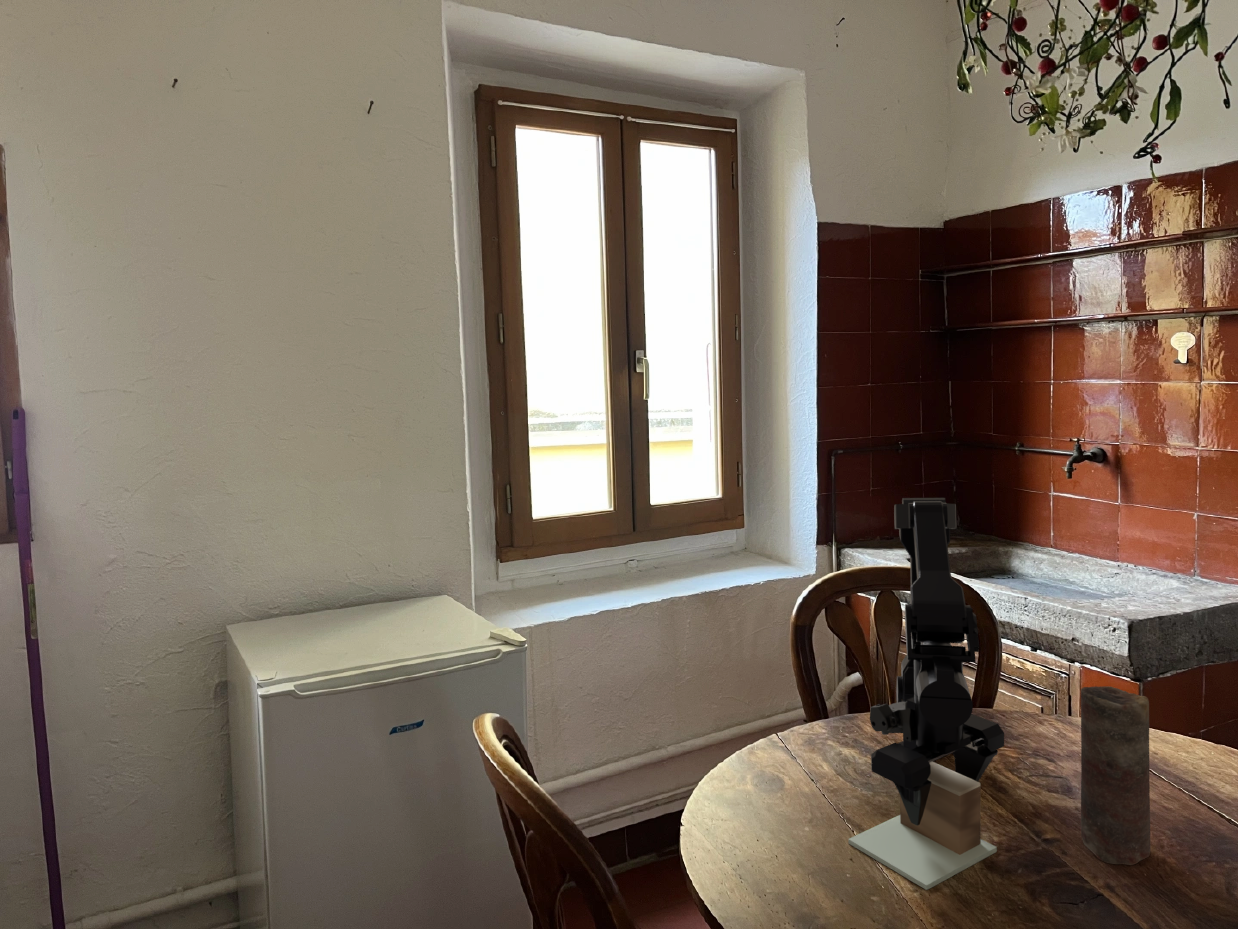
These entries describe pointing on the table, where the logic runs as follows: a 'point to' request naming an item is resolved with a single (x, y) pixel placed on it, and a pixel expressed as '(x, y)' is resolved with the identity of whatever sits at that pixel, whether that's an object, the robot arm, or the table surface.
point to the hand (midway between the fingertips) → (939, 812)
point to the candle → (1115, 774)
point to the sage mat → (916, 853)
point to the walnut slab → (949, 811)
